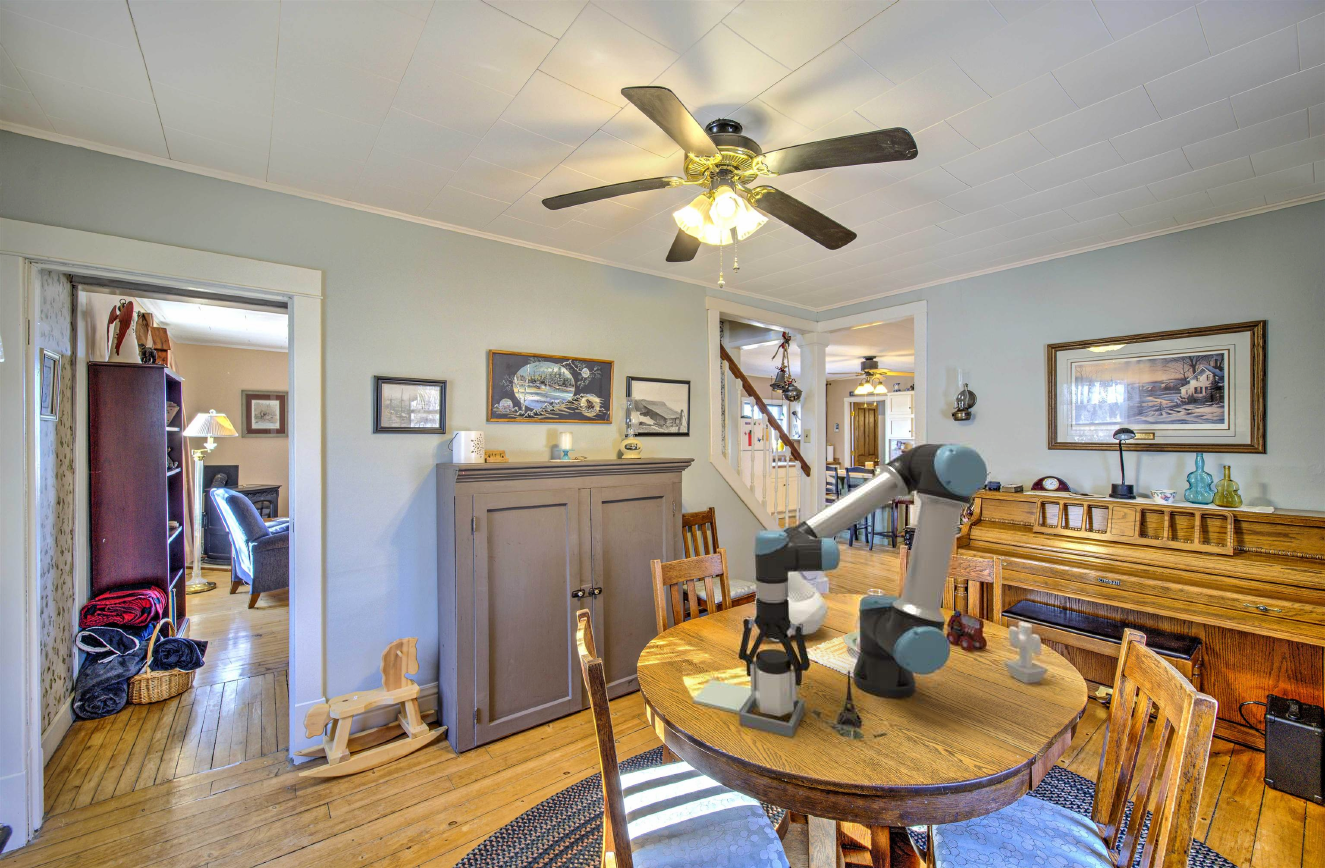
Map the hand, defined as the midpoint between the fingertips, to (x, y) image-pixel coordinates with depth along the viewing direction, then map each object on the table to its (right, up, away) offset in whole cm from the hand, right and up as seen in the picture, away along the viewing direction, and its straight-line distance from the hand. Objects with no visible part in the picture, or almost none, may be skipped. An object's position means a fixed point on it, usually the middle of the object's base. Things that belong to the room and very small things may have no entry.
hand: (774, 694), depth 124 cm
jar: (0, -3, 0) cm, 3 cm away
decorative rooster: (+15, -6, +51) cm, 54 cm away
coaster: (-11, -6, +10) cm, 15 cm away
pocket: (0, -5, 0) cm, 5 cm away
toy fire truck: (+69, -6, +41) cm, 80 cm away
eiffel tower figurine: (+16, -6, -2) cm, 18 cm away
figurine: (+72, -5, +19) cm, 74 cm away
